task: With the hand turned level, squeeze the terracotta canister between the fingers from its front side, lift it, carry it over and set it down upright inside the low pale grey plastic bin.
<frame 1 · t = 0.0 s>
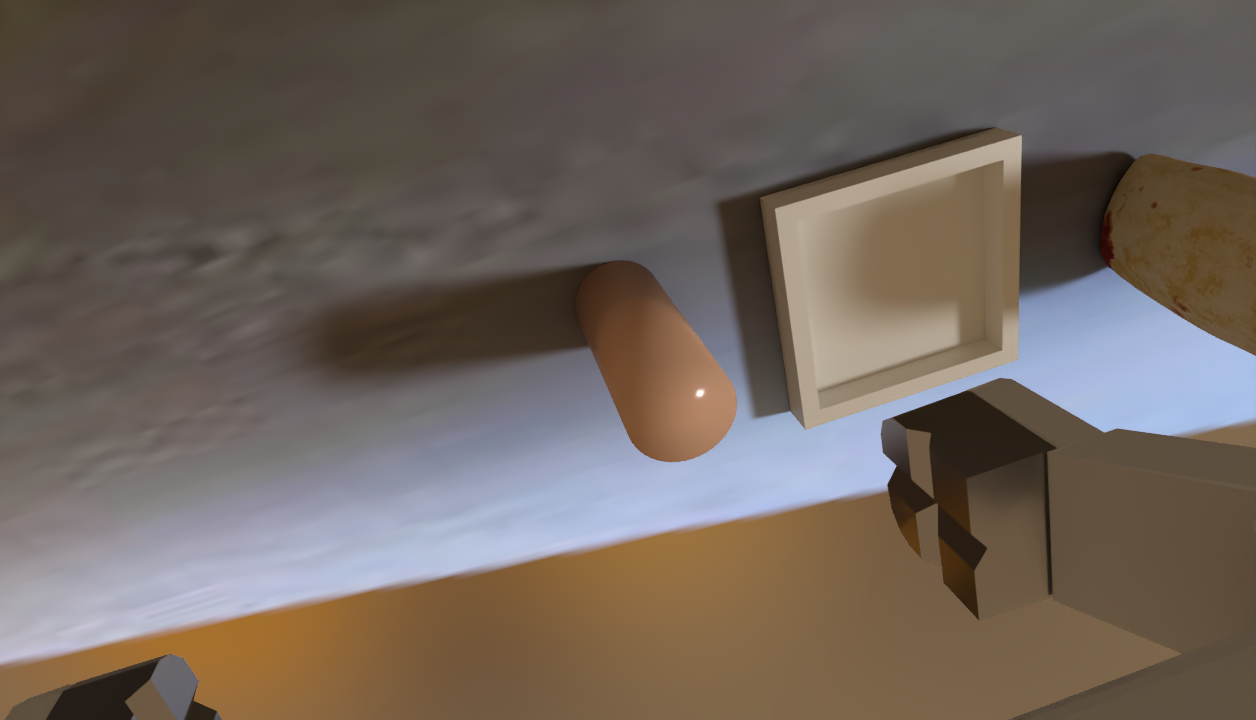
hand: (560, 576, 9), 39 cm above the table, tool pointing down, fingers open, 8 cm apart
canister: (618, 302, 51), on the table
bin: (887, 277, 54), on the table
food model: (1123, 215, 57), on the table
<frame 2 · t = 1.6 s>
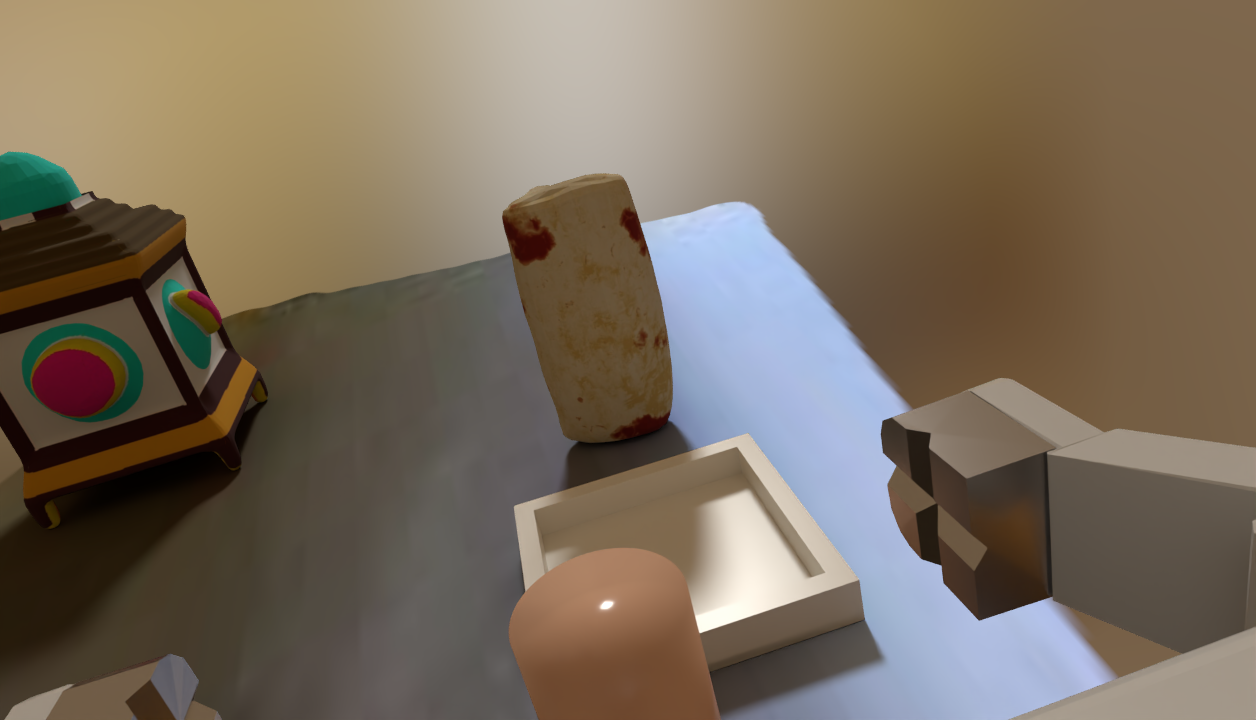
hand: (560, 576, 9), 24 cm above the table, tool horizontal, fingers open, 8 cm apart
bin: (670, 572, 47), on the table
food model: (626, 432, 63), on the table
decorative lantern: (170, 459, 79), on the table
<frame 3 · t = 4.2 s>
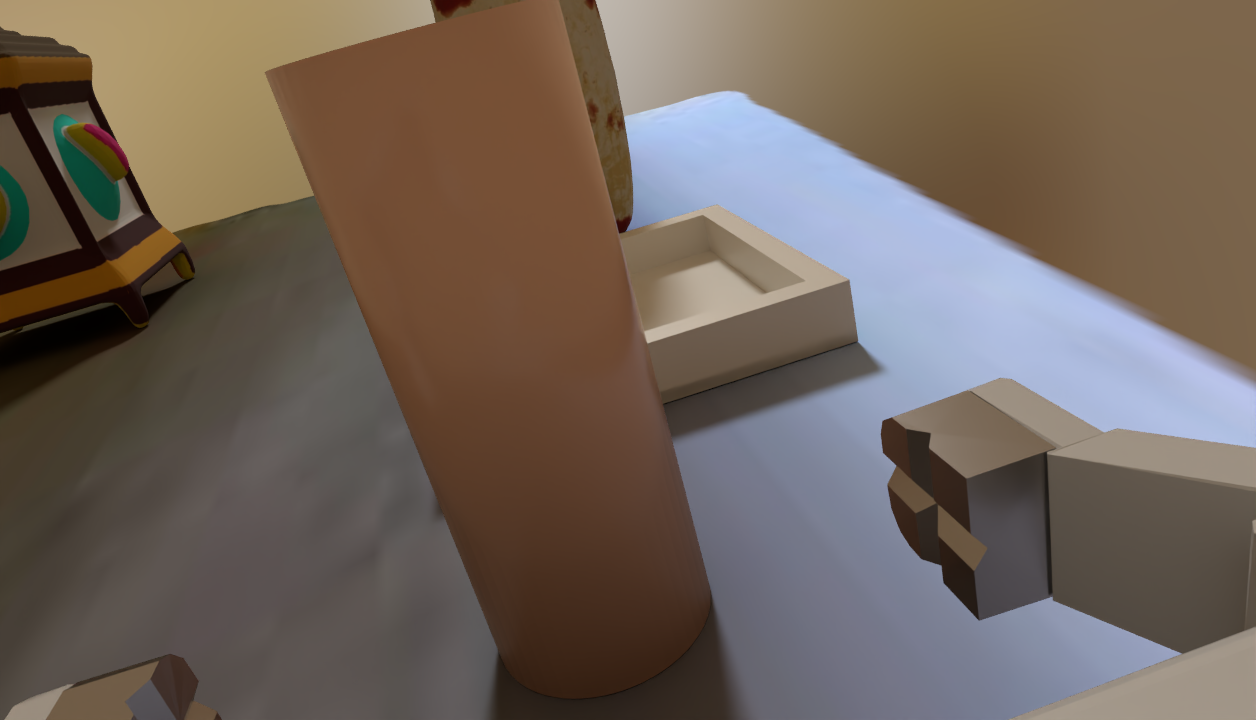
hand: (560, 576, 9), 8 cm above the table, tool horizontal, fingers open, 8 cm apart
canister: (604, 611, 21), on the table
bin: (617, 335, 37), on the table
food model: (580, 247, 54), on the table
decorative lantern: (77, 330, 70), on the table
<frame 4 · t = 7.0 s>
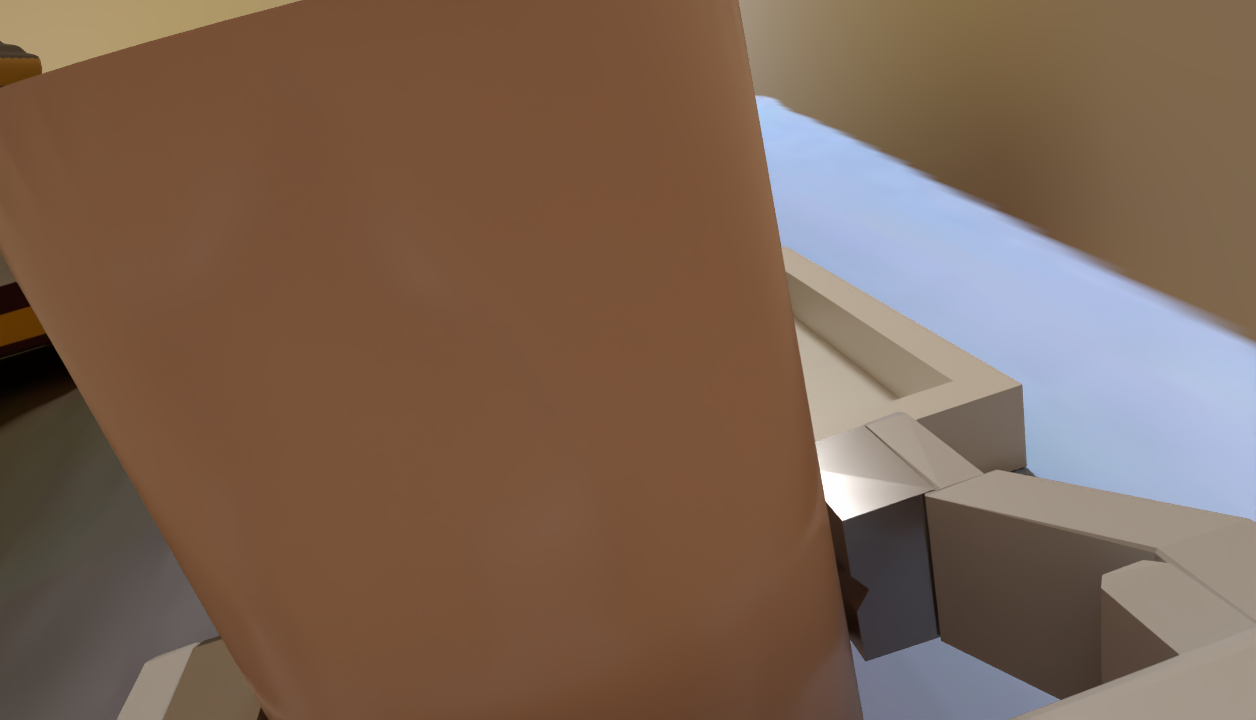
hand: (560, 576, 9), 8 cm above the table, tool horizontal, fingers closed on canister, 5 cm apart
bin: (670, 429, 28), on the table
decorative lantern: (23, 371, 61), on the table
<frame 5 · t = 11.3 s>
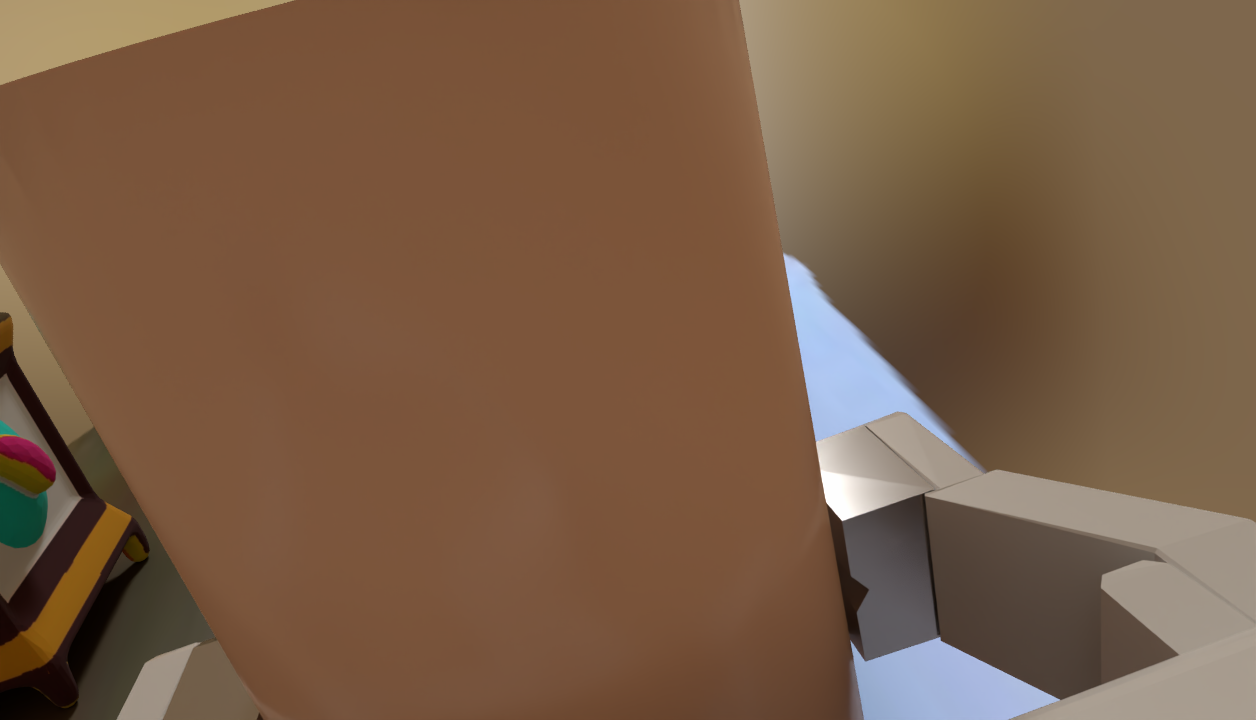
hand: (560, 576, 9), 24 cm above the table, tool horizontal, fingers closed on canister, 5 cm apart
when the fingers open (9 cm above the table, at t = 15.8 s): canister stays where it is, resting on bin.
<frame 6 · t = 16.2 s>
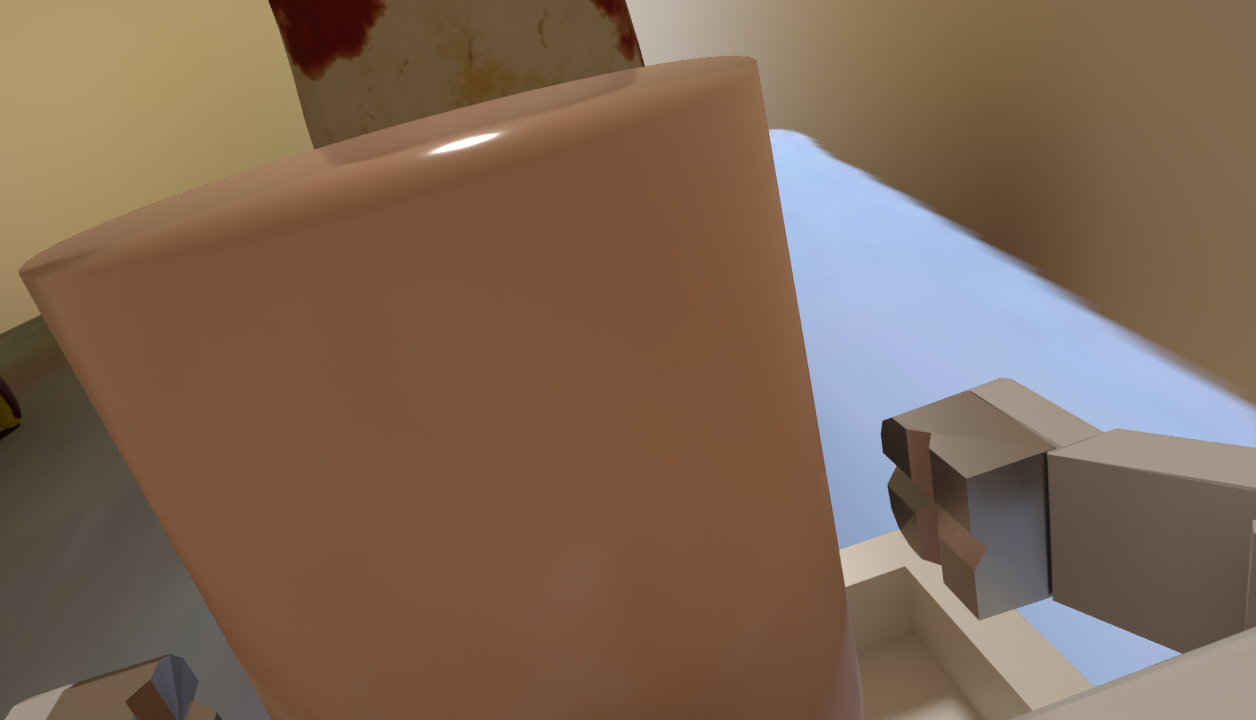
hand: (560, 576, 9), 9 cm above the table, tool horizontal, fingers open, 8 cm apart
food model: (600, 495, 29), on the table
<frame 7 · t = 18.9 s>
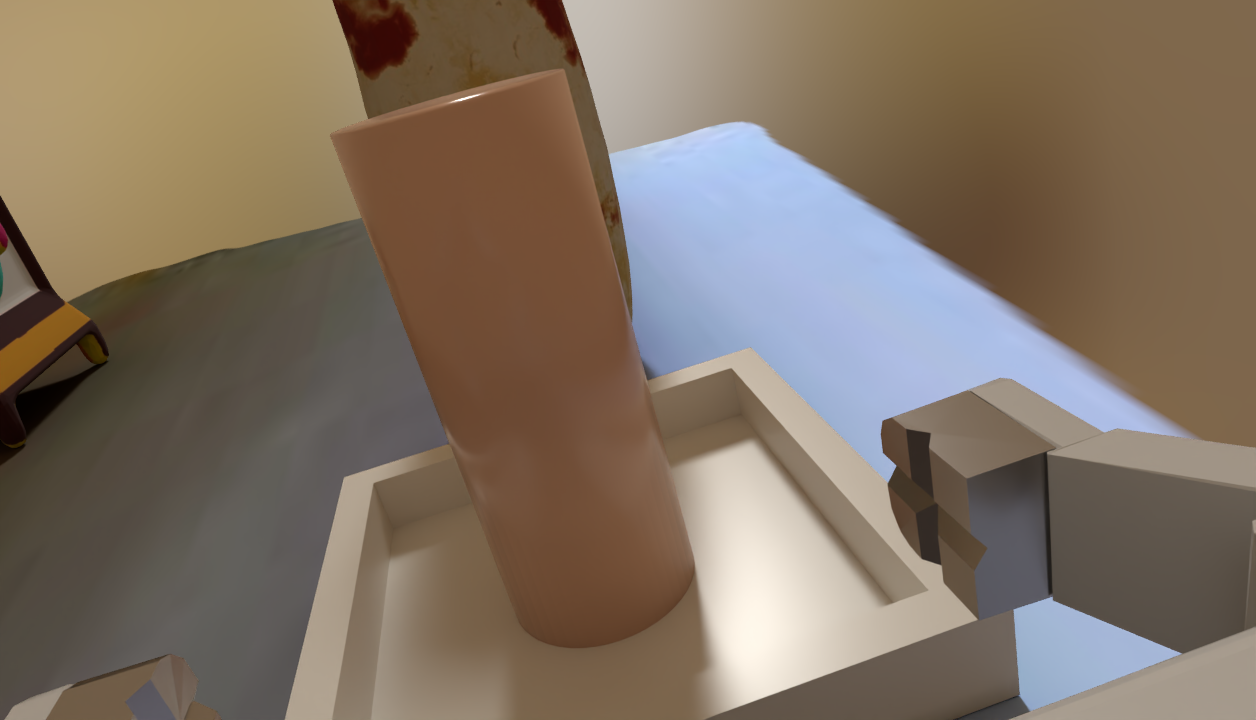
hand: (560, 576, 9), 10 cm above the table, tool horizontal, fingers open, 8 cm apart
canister: (603, 578, 24), point 1 cm above the table, touching bin
bin: (606, 591, 24), on the table
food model: (563, 370, 41), on the table
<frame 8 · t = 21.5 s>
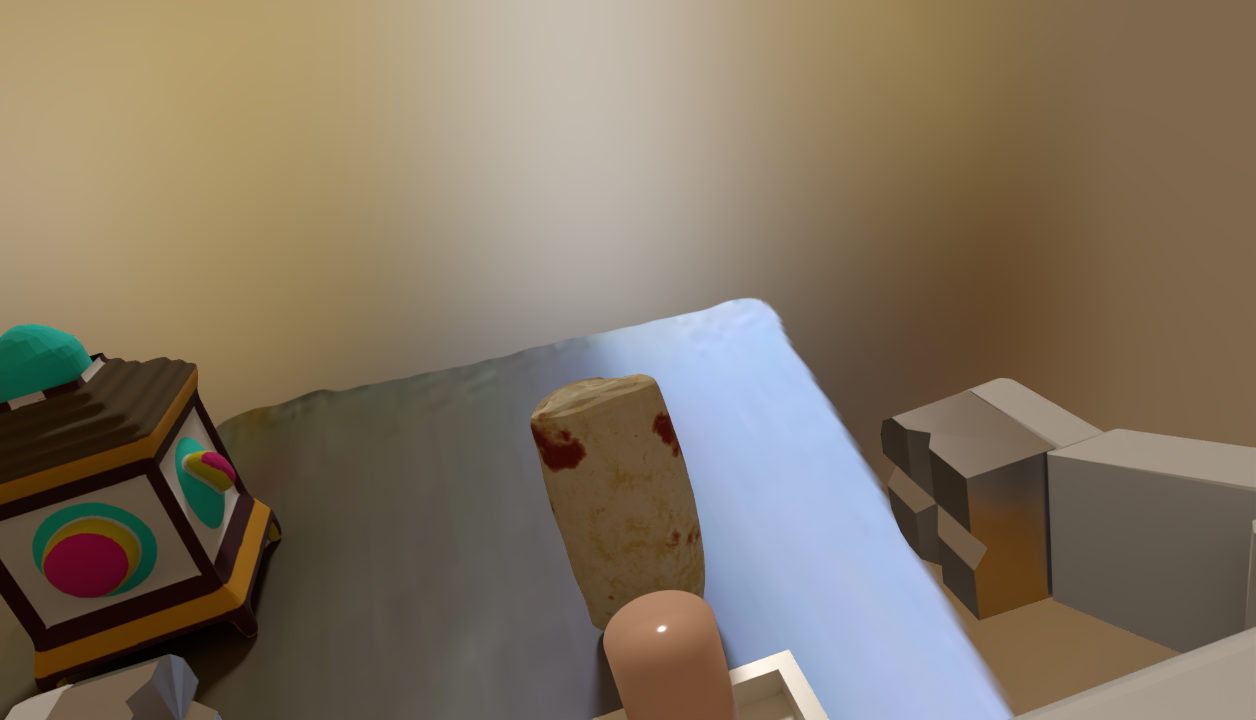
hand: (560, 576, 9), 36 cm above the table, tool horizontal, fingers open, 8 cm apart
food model: (657, 617, 61), on the table
decorative lantern: (183, 614, 77), on the table
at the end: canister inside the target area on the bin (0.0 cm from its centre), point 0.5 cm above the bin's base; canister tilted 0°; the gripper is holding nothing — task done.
